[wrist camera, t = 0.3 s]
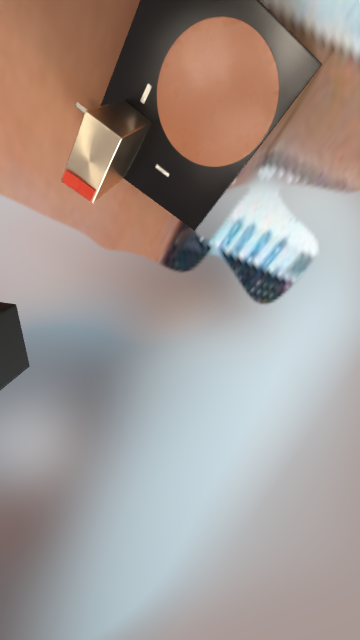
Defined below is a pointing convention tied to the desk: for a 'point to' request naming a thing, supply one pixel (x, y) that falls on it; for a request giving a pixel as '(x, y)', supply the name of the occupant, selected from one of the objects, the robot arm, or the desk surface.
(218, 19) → the warming ring
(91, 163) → the cream block
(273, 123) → the hotplate
